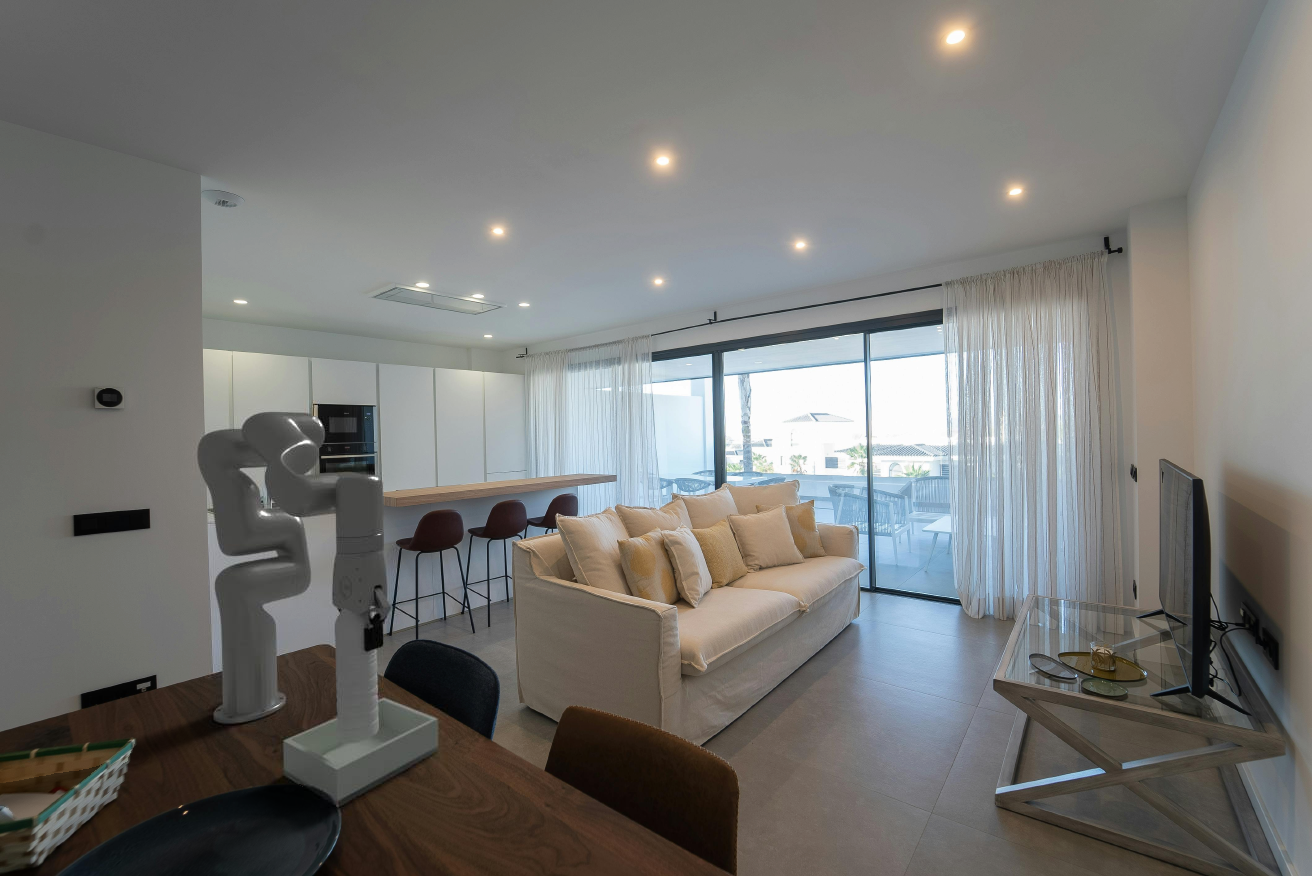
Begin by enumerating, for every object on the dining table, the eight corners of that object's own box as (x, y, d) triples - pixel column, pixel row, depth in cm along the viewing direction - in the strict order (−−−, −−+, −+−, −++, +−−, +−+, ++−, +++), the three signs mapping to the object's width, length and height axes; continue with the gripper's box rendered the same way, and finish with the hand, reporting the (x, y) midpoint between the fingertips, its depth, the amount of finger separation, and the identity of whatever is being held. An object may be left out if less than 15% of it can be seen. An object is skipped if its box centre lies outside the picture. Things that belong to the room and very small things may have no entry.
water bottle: (358, 746, 97) (354, 599, 97) (328, 741, 99) (324, 596, 99) (396, 722, 105) (392, 586, 105) (368, 717, 107) (364, 584, 107)
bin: (283, 775, 99) (283, 740, 99) (384, 727, 115) (384, 697, 115) (337, 807, 90) (336, 769, 90) (438, 751, 106) (437, 718, 106)
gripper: (312, 543, 103) (314, 642, 104) (368, 553, 94) (370, 662, 94) (353, 536, 110) (354, 630, 110) (409, 545, 101) (411, 647, 101)
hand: (362, 644), depth 102 cm, fingers closed on water bottle, 6 cm apart
